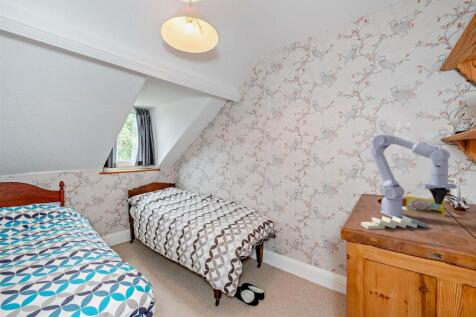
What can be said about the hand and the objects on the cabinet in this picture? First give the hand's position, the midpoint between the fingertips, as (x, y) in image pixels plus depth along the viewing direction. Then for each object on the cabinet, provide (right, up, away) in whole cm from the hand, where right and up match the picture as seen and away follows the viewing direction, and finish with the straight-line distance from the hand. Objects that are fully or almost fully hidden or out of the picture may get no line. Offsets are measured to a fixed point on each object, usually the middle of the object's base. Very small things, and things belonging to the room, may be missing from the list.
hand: (438, 204), depth 101 cm
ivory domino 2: (-23, -9, -1) cm, 25 cm away
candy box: (+10, -9, +19) cm, 24 cm away
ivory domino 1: (-27, -10, -1) cm, 29 cm away
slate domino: (-8, -9, 0) cm, 12 cm away
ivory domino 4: (-13, -9, -1) cm, 16 cm away
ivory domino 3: (-18, -9, -1) cm, 20 cm away
